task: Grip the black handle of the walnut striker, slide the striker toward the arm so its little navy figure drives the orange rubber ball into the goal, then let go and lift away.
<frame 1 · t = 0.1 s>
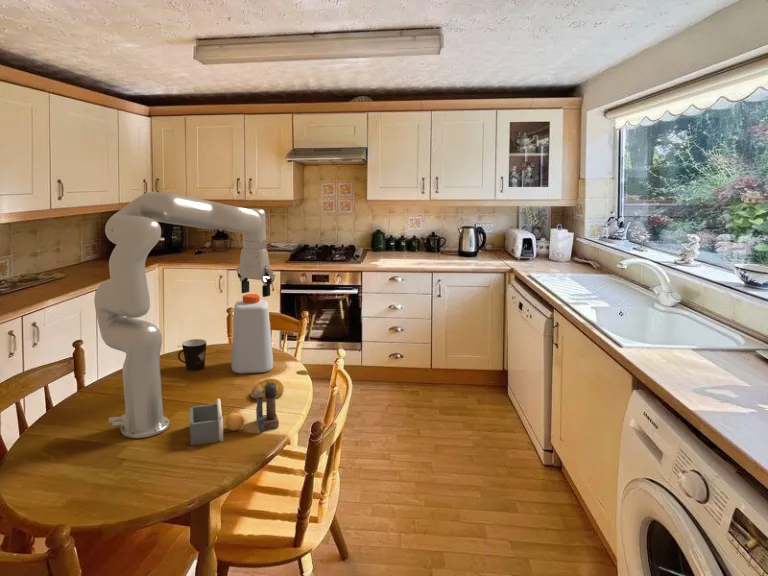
hand: (255, 294, 180), 31 cm above the table, tool pointing down, fingers open, 9 cm apart
coffee mug: (191, 369, 195), on the table
plastic bottle: (252, 367, 198), on the table
ball: (234, 421, 149), point 2 cm above the table
striker: (266, 405, 151), point 6 cm above the table, slide at 0.0 cm
goal: (207, 433, 147), on the table
bagel: (267, 396, 173), on the table
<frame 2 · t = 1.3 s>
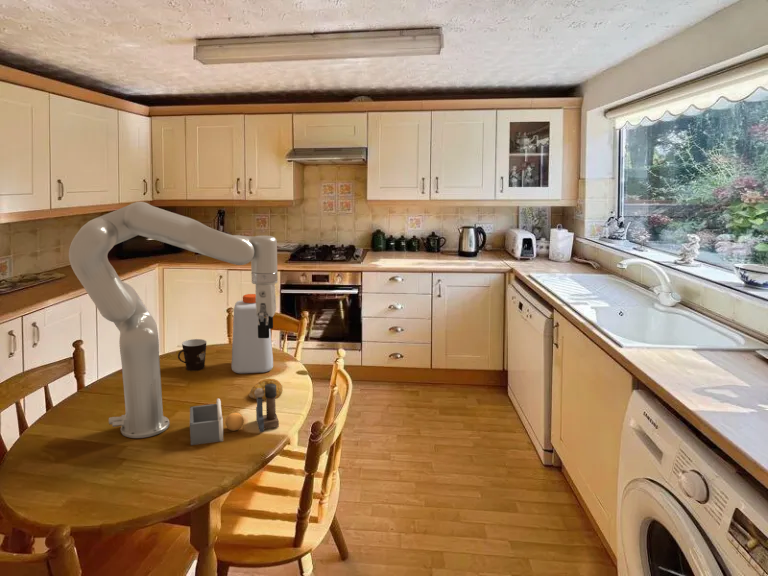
hand: (265, 333, 158), 25 cm above the table, tool pointing down, fingers open, 9 cm apart
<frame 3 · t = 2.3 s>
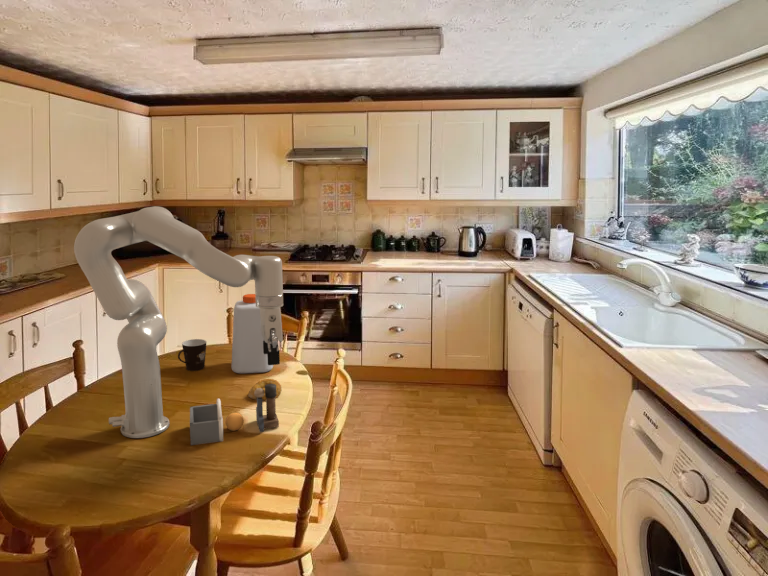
hand: (271, 358, 148), 20 cm above the table, tool pointing down, fingers open, 9 cm apart
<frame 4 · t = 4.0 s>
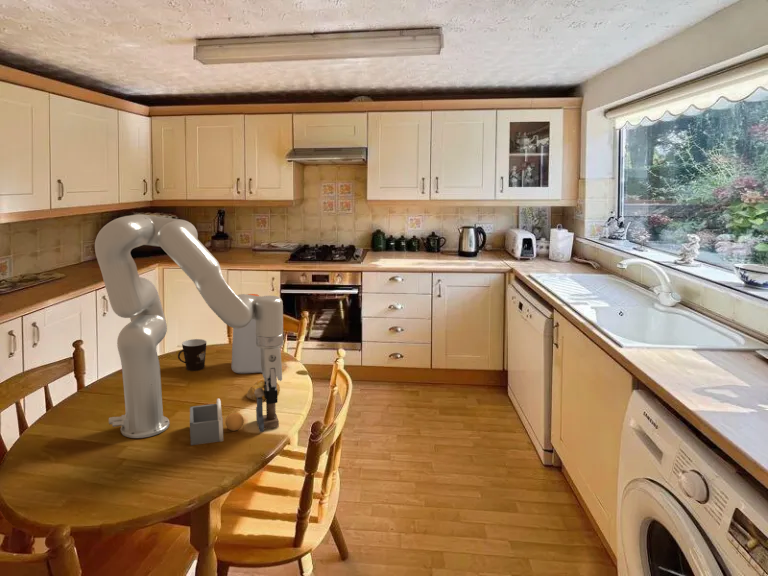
hand: (270, 399, 151), 8 cm above the table, tool pointing down, fingers closed on striker, 3 cm apart
striker: (266, 405, 151), point 6 cm above the table, slide at 0.0 cm, touching gripper
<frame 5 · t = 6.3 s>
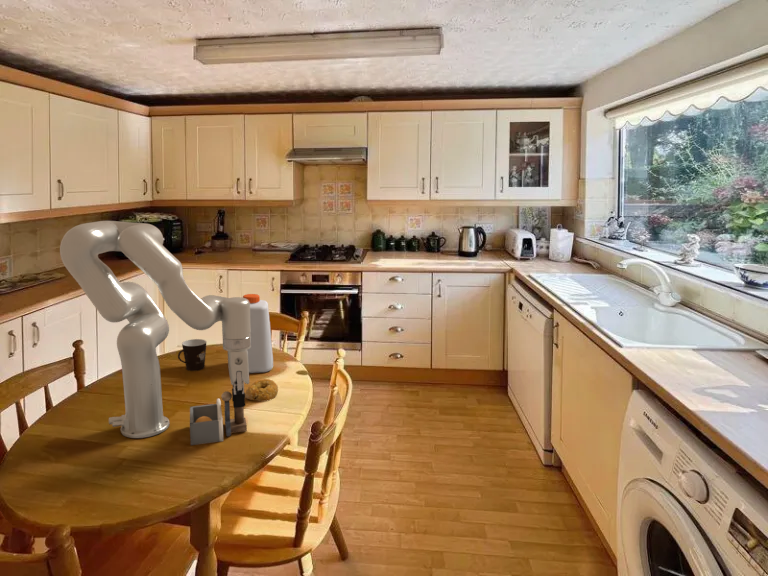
hand: (238, 403, 148), 8 cm above the table, tool pointing down, fingers closed on striker, 3 cm apart
ball: (203, 425, 146), point 2 cm above the table, tilted 172°
striker: (233, 409, 148), point 6 cm above the table, slide at 9.0 cm, touching gripper
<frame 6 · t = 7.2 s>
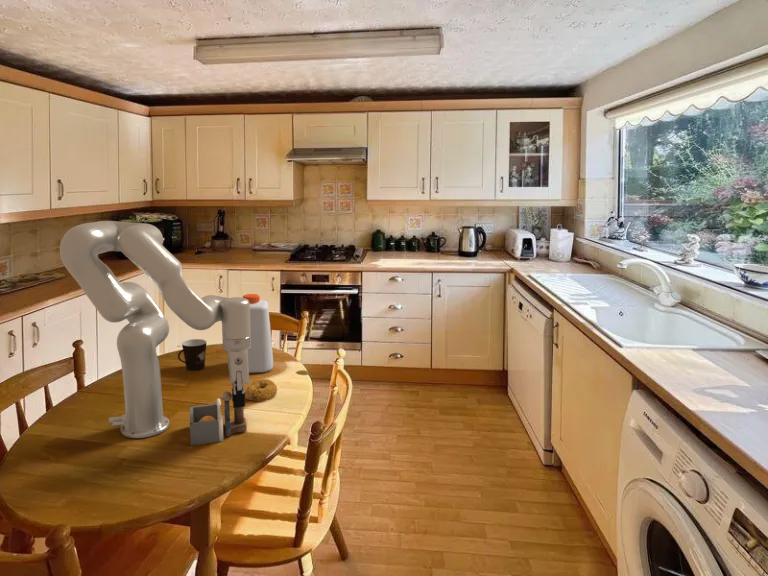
hand: (238, 403, 148), 8 cm above the table, tool pointing down, fingers closed on striker, 3 cm apart
ball: (207, 424, 146), point 2 cm above the table, tilted 164°
striker: (233, 409, 148), point 6 cm above the table, slide at 9.0 cm, touching gripper
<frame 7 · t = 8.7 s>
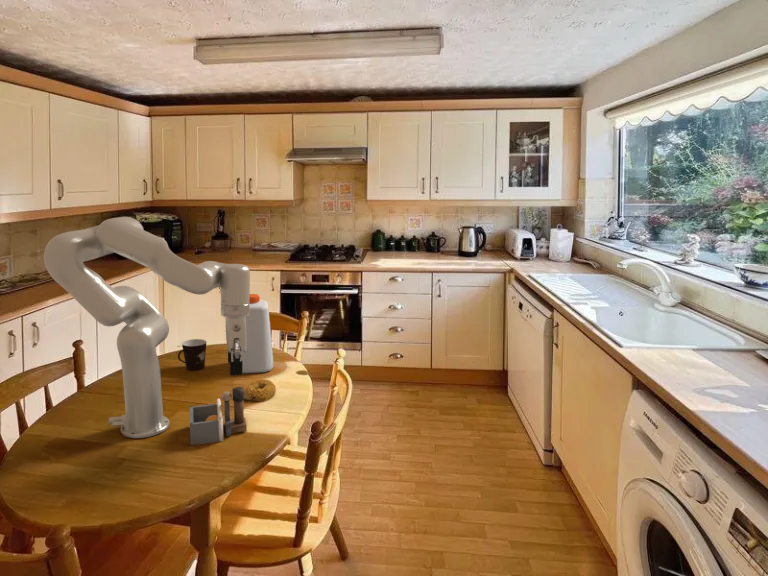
hand: (234, 368, 146), 18 cm above the table, tool pointing down, fingers open, 9 cm apart
ball: (213, 424, 147), point 2 cm above the table, tilted 126°
striker: (233, 409, 148), point 6 cm above the table, slide at 9.0 cm
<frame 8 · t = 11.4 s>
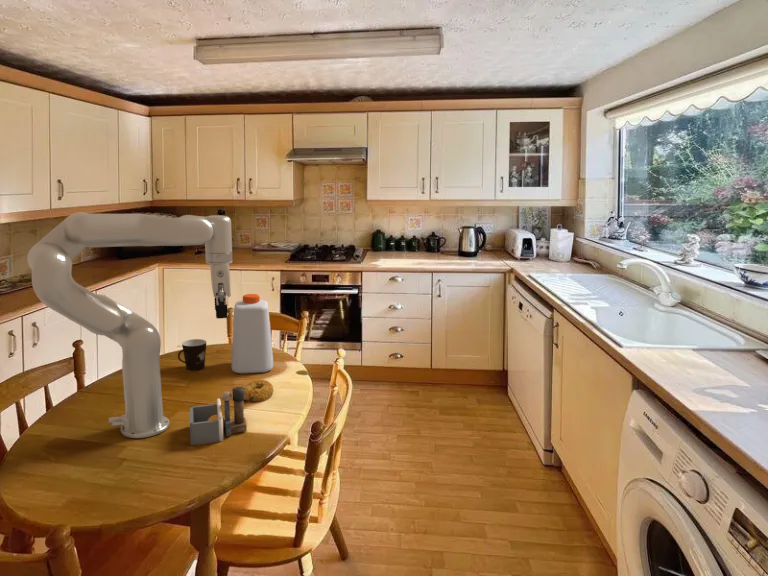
hand: (221, 313, 157), 30 cm above the table, tool pointing down, fingers open, 9 cm apart
ball: (215, 423, 147), point 2 cm above the table, tilted 113°
at the end: ball inside the target area (2.2 cm from its centre), point 2.5 cm above the table; striker slide at 9.0 cm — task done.
